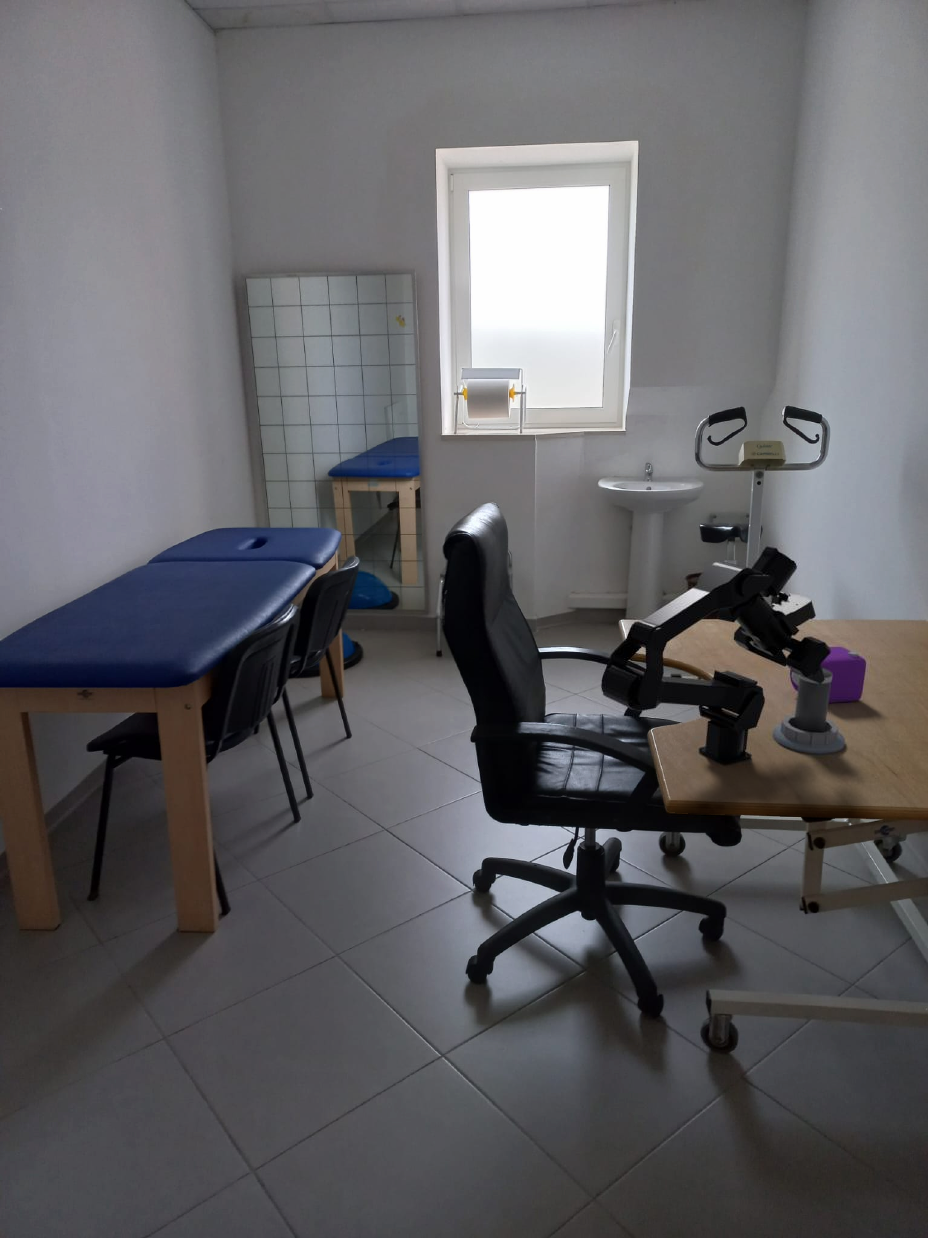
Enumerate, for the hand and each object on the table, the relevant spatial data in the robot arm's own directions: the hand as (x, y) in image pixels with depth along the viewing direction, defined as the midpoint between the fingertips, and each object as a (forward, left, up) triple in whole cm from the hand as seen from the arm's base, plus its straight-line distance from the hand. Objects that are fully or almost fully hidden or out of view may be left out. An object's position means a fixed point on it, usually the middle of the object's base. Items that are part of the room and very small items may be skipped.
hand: (803, 672), depth 149 cm
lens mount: (+3, 0, -13) cm, 14 cm away
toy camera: (+23, +14, -13) cm, 30 cm away
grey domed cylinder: (+3, 0, -12) cm, 13 cm away
